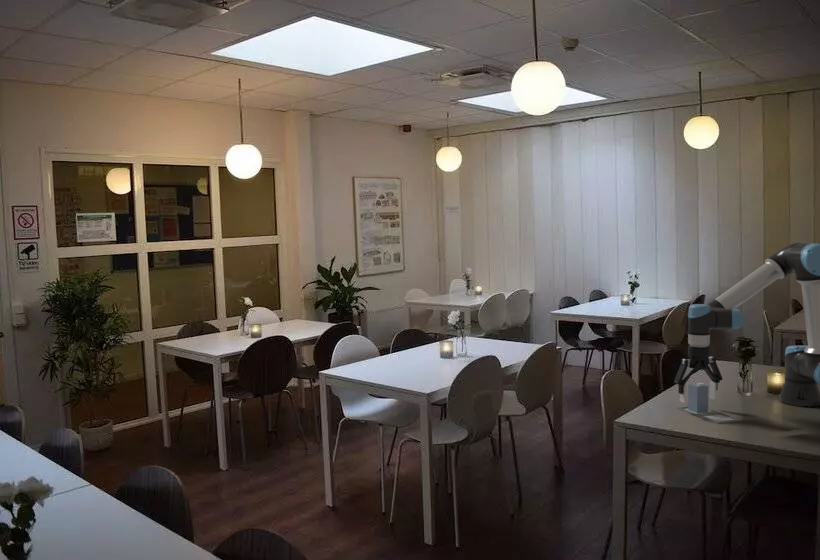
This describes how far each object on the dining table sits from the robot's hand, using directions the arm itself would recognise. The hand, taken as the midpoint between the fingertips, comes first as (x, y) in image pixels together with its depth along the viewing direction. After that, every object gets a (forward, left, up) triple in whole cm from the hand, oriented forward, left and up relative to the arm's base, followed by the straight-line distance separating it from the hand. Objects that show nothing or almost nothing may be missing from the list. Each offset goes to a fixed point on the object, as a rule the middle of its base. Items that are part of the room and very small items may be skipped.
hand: (698, 400), depth 261 cm
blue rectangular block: (0, 0, -4) cm, 4 cm away
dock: (0, +6, -5) cm, 8 cm away
